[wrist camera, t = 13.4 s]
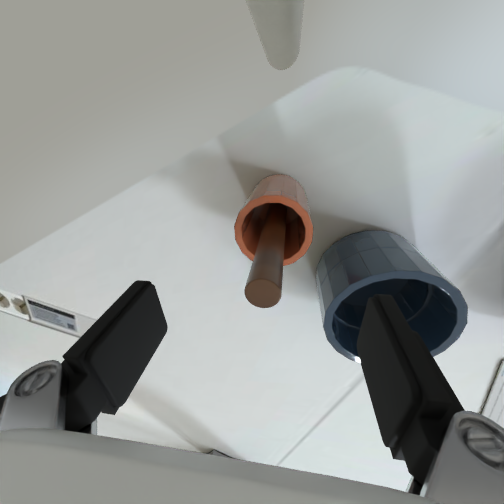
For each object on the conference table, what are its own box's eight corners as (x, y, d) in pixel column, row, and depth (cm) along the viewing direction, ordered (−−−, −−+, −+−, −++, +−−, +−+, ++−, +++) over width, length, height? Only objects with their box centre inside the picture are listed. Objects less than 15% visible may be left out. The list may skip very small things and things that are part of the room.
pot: (320, 227, 27) (331, 267, 20) (432, 229, 25) (494, 274, 18) (312, 305, 33) (318, 360, 25) (403, 311, 31) (440, 373, 23)
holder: (250, 174, 26) (231, 195, 18) (308, 173, 25) (316, 195, 17) (252, 227, 29) (237, 265, 21) (304, 228, 28) (309, 268, 20)
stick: (269, 197, 26) (243, 277, 12) (287, 197, 26) (281, 279, 12) (269, 214, 27) (245, 307, 13) (286, 214, 27) (281, 309, 13)
